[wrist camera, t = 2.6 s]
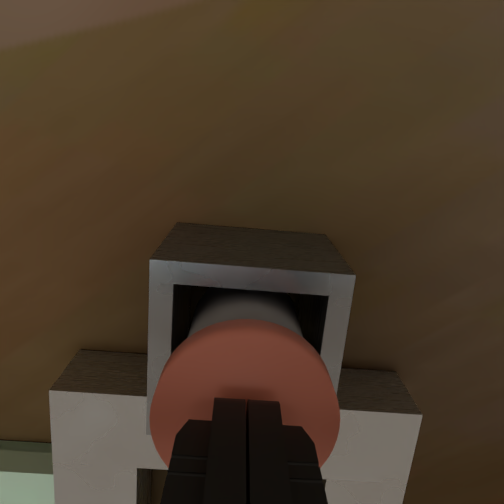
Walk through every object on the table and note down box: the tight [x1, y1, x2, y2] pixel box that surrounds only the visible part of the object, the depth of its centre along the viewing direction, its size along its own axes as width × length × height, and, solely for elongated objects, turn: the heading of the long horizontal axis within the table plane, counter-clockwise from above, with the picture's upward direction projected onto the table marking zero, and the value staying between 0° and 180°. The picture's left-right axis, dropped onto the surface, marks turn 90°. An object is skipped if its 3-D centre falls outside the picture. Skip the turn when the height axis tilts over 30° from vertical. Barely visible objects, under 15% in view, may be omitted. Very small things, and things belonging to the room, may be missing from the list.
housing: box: [49, 223, 423, 504], centre depth 17 cm, size 14×20×5 cm
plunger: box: [149, 287, 340, 468], centre depth 13 cm, size 5×5×6 cm
